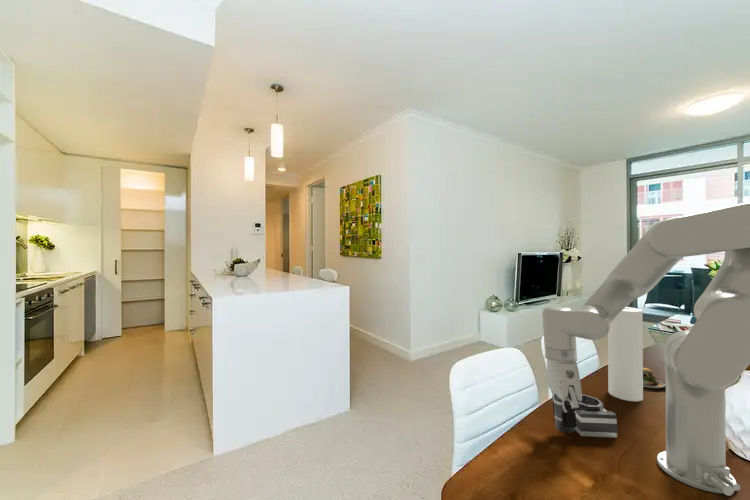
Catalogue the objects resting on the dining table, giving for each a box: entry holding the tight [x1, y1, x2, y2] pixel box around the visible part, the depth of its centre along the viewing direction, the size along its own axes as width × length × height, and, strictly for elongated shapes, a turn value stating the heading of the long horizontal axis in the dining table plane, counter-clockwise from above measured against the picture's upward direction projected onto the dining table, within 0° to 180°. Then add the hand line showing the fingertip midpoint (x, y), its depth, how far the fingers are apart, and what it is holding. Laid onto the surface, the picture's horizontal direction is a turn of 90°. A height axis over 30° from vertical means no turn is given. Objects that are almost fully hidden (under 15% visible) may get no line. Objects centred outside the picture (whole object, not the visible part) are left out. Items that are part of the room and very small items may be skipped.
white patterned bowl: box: [643, 365, 666, 390], centre depth 120 cm, size 12×12×8 cm
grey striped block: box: [574, 394, 618, 439], centre depth 93 cm, size 12×9×7 cm
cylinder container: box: [607, 306, 644, 402], centre depth 111 cm, size 9×9×30 cm
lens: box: [552, 395, 576, 434], centre depth 87 cm, size 5×5×8 cm
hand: (564, 420), depth 87 cm, fingers closed on lens, 4 cm apart
